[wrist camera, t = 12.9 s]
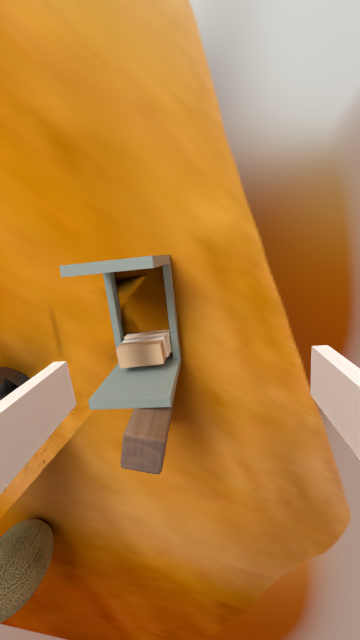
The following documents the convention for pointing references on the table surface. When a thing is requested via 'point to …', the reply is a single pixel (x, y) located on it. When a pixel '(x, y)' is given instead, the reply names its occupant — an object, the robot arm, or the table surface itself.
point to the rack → (123, 383)
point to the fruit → (23, 563)
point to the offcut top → (141, 353)
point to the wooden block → (146, 439)
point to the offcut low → (140, 334)
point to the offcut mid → (152, 337)
